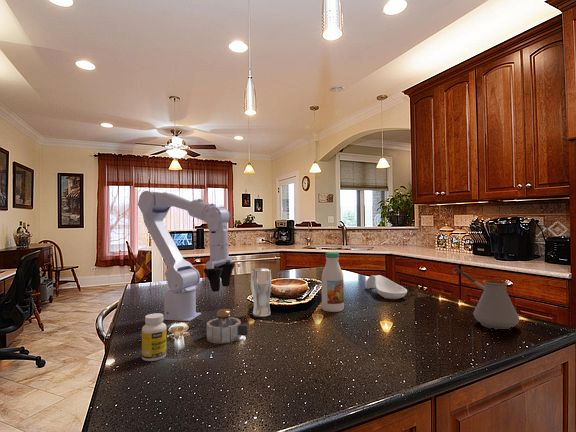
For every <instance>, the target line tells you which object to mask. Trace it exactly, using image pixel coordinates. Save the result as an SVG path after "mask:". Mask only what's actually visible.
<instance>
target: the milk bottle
mask: <svg viewBox="0 0 576 432" xmlns="http://www.w3.org/2000/svg"><path fill="white" fill-rule="evenodd" d="M339 258H340V253H339V252H338V251H326V252H325V259H326V261H325V265H324V267H323V270H322V274H321V309H322V311H325V312H331V313H338V312H342V311H343V310H344V309H345V302H344V301H345V296H344V295H345V291H344V290H345V287H344V286H345V285H344V284H345V282H344V274H343V271H342V270H343V269H341V266H340V262H339V260H340V259H339Z"/></svg>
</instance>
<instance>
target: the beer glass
mask: <svg viewBox="0 0 576 432" xmlns="http://www.w3.org/2000/svg"><path fill="white" fill-rule="evenodd" d="M271 270H272V269H271V268H267V267H256V268H252V269H251V273H250V289H251V290H250V291H251V294H252V300H253V309H252V316H253V317H257V318H264V317H268V316H270V315H271V307H270V298H271V294H272V273H271Z"/></svg>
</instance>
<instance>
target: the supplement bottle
mask: <svg viewBox="0 0 576 432" xmlns="http://www.w3.org/2000/svg"><path fill="white" fill-rule="evenodd" d="M163 318H164V313H158V312H156V313H150V314H146V315H145V316H144V321H145V322H144V325H143V326H142V328H141V359H142V360H143V361H146V362H155V361H160V360H162V359H164V358H165V357H166V356H167V324H166V323H164V320H163Z"/></svg>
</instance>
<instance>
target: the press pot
mask: <svg viewBox="0 0 576 432" xmlns="http://www.w3.org/2000/svg"><path fill="white" fill-rule="evenodd" d="M241 322H242V320H241V319H239V318H237V317H231V316H230V317H229V318H226V327H222V319H219V318H217V317H216V318H213V319H210V320H209V321H207V322H206V340H207V342H209V343H211V344H230V343H233V342H236V341H238V340H239V339H240V338H241V337H242V336H245V337H247V336H248V335H249V324H242V323H241Z"/></svg>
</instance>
